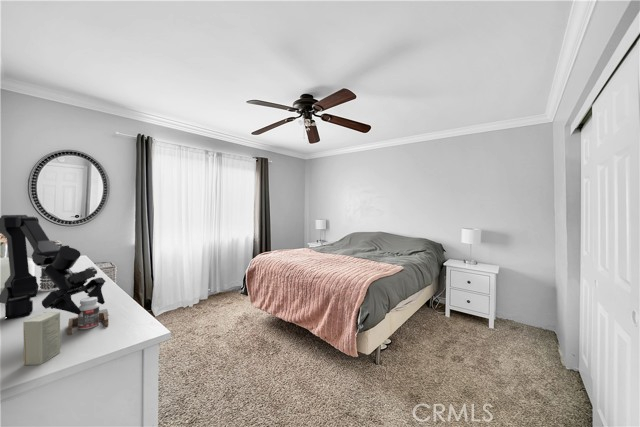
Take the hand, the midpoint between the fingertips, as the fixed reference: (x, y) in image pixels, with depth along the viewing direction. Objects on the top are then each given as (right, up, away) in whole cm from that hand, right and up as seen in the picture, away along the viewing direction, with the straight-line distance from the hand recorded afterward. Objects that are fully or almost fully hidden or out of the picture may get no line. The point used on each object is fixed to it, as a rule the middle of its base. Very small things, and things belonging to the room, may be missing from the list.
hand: (92, 308), depth 93 cm
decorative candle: (-57, -5, +41) cm, 71 cm away
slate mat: (-8, -6, +10) cm, 14 cm away
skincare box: (+4, -7, -20) cm, 21 cm away
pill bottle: (-1, -7, 0) cm, 7 cm away
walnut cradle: (-1, -7, 0) cm, 7 cm away
